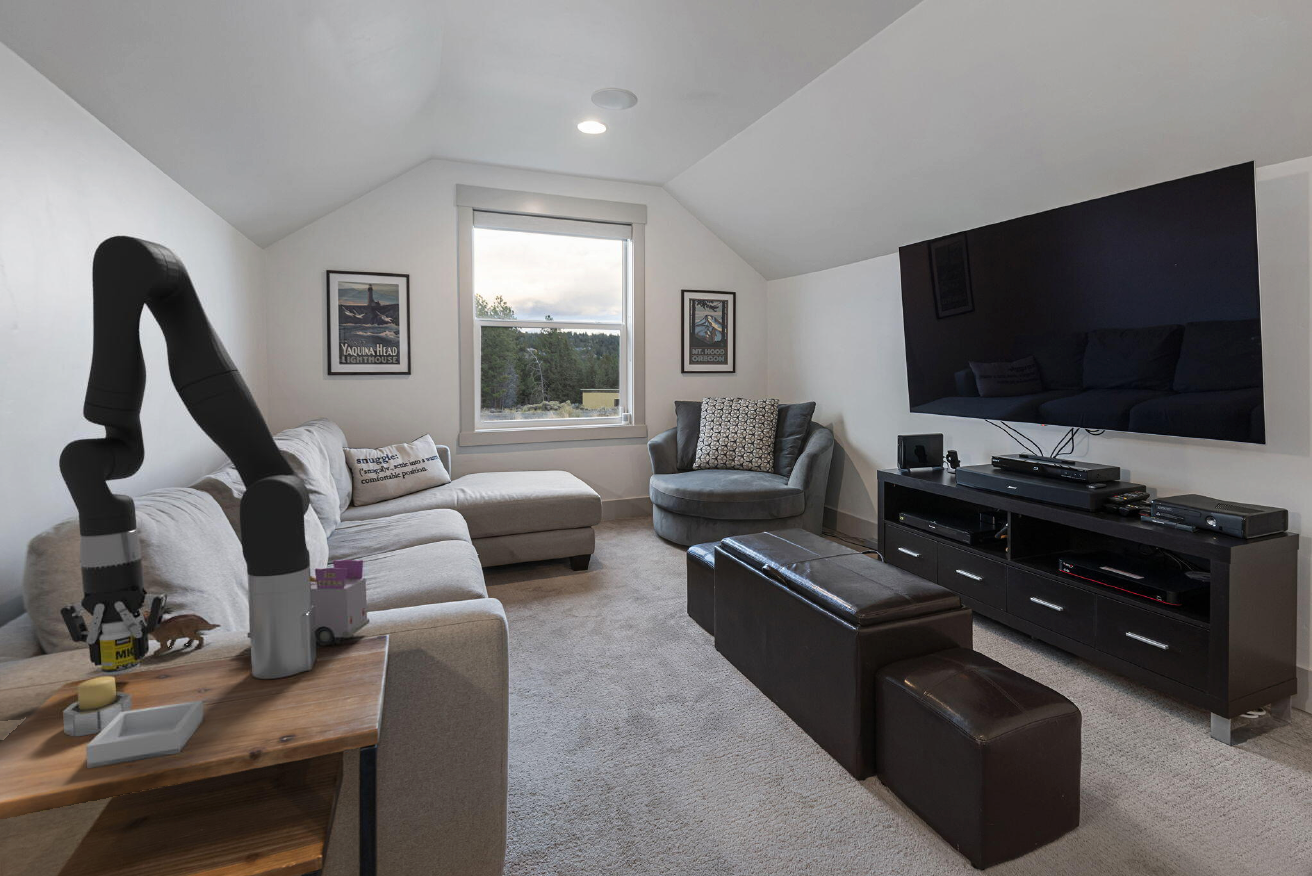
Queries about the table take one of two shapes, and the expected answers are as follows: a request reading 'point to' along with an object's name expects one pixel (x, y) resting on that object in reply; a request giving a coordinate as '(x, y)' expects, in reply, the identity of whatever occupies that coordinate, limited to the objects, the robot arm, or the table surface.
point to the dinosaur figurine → (179, 630)
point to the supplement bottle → (117, 648)
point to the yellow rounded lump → (96, 693)
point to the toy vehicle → (338, 601)
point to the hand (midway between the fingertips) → (120, 660)
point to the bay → (145, 734)
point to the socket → (94, 716)
